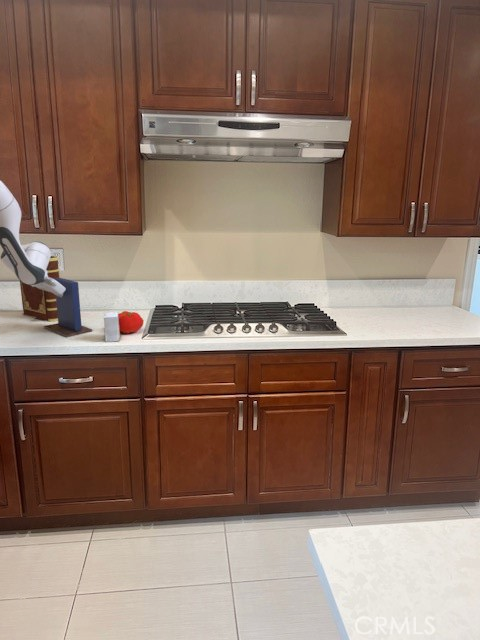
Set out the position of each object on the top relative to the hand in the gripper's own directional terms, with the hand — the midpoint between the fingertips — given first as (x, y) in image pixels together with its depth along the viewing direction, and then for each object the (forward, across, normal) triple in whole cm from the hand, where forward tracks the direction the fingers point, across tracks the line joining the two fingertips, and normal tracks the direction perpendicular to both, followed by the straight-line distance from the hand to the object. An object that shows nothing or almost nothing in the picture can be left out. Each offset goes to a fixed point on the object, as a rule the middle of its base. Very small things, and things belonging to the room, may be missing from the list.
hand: (60, 295), depth 201 cm
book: (+12, 0, +8) cm, 15 cm away
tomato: (+25, -21, -2) cm, 33 cm away
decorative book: (+15, +28, +8) cm, 33 cm away
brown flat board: (+12, 0, +10) cm, 16 cm away
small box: (+17, -26, +6) cm, 31 cm away
